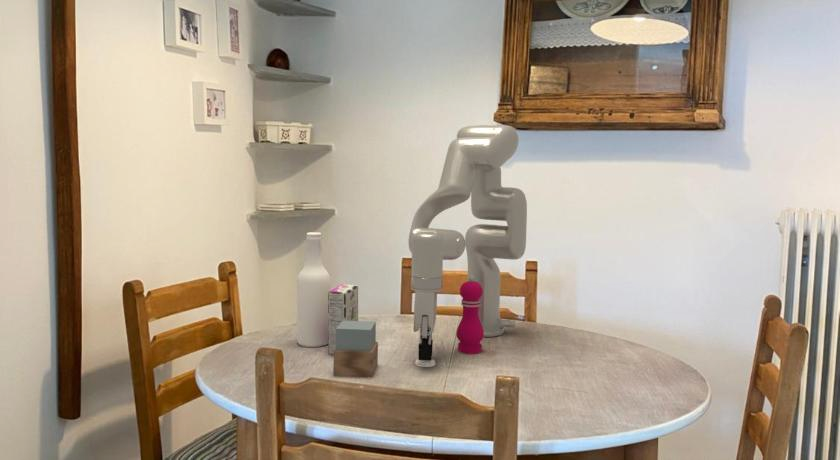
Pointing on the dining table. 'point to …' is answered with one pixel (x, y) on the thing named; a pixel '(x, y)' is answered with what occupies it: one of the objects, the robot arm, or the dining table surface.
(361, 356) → the walnut base block
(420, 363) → the chess piece
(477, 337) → the pepper mill
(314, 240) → the white bottle
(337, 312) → the candy bar box
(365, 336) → the slate top block
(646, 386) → the dining table surface
